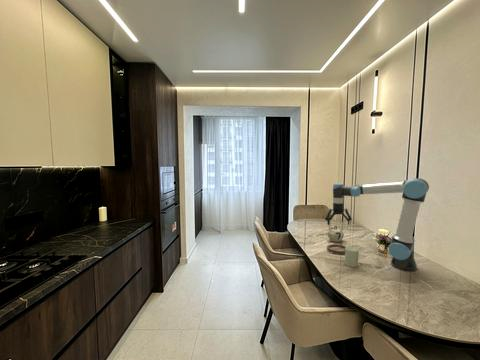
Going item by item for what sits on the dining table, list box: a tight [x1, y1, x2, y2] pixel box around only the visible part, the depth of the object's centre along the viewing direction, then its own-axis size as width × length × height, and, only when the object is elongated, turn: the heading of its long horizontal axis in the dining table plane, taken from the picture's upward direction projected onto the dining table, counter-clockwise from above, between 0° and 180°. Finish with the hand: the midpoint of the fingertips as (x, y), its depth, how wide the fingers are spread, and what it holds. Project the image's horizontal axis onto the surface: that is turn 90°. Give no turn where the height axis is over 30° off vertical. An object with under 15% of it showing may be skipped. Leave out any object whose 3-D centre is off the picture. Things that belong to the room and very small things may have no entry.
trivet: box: [326, 243, 347, 255], centre depth 193 cm, size 17×17×2 cm
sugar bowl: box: [326, 225, 345, 243], centre depth 218 cm, size 20×15×15 cm
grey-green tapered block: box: [344, 246, 359, 268], centre depth 166 cm, size 9×9×12 cm
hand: (338, 228), depth 180 cm, fingers open, 13 cm apart
